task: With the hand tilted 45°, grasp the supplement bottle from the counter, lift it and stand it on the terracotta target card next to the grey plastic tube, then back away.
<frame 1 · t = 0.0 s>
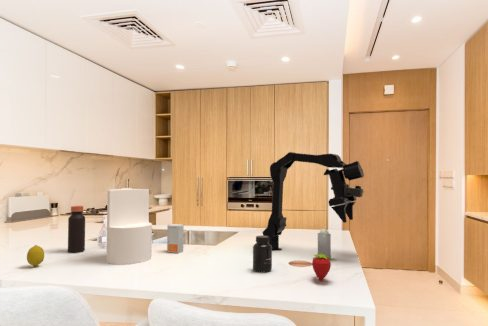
hand: (348, 221, 136), 15 cm above the counter, tool pointing down, fingers open, 9 cm apart
vinegar: (76, 251, 150), on the counter
grey tube: (324, 259, 134), point 1 cm above the counter, touching target card
skincare box: (175, 252, 149), on the counter
supplement bottle: (262, 270, 120), on the counter
target card: (309, 262, 131), on the counter
strawberry: (321, 281, 108), on the counter
white stepped holder: (129, 259, 137), on the counter
lemon: (35, 267, 125), on the counter
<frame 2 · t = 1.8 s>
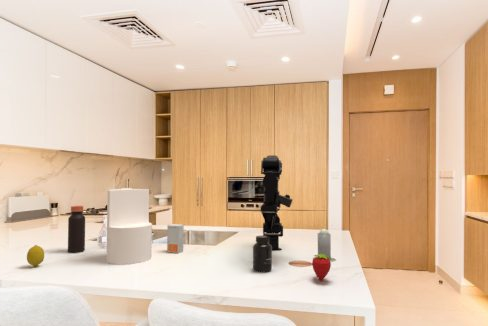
hand: (271, 227, 135), 13 cm above the counter, tool pointing down, fingers open, 9 cm apart
nothing on the counter moved.
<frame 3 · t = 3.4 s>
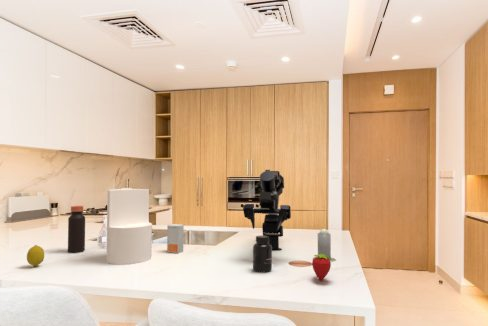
hand: (265, 228, 129), 13 cm above the counter, tool tilted 45°, fingers open, 9 cm apart
nothing on the counter moved.
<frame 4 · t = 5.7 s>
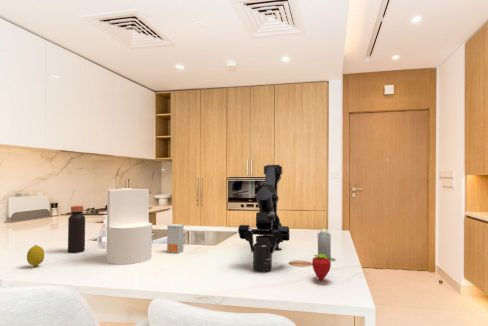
hand: (261, 252, 119), 7 cm above the counter, tool tilted 45°, fingers closed on supplement bottle, 7 cm apart
supplement bottle: (262, 270, 120), on the counter, touching gripper
everything else where it was.
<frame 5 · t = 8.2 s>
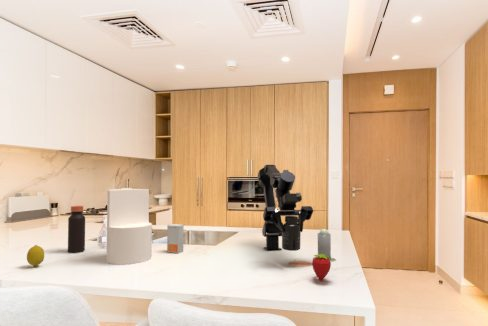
hand: (292, 231, 124), 13 cm above the counter, tool tilted 45°, fingers closed on supplement bottle, 7 cm apart
supplement bottle: (291, 249, 125), point 6 cm above the counter, touching gripper
everything else where it was.
when the fingers open (8 cm above the counter, at t = 10.4 s): supplement bottle stays where it is, resting on target card.
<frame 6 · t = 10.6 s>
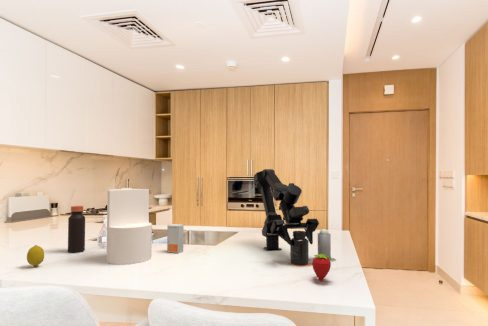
hand: (301, 244, 126), 8 cm above the counter, tool tilted 45°, fingers open, 8 cm apart
supplement bottle: (299, 263, 127), resting on target card
everything else where it was.
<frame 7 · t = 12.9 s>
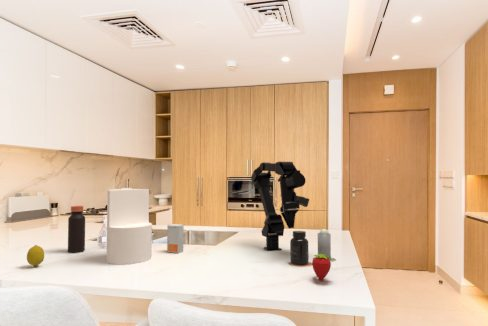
hand: (291, 228, 139), 12 cm above the counter, tool pointing down, fingers open, 9 cm apart
nothing on the counter moved.
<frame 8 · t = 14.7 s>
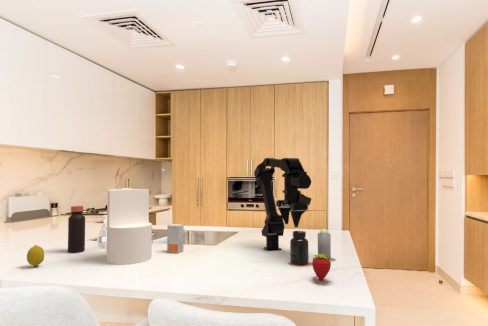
hand: (291, 225, 140), 13 cm above the counter, tool pointing down, fingers open, 9 cm apart
nothing on the counter moved.
at the end: supplement bottle inside the target area (0.4 cm from its centre), resting on target card; supplement bottle tilted 0°; the gripper is holding nothing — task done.
